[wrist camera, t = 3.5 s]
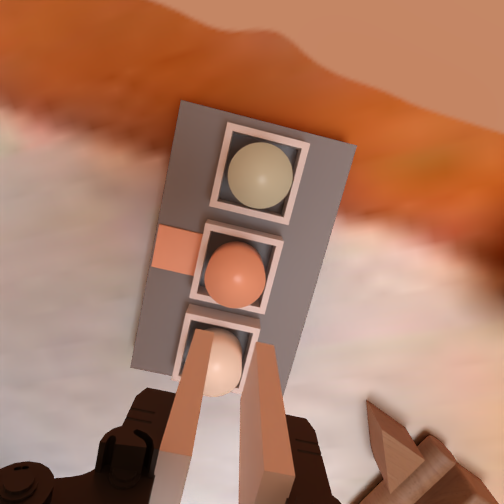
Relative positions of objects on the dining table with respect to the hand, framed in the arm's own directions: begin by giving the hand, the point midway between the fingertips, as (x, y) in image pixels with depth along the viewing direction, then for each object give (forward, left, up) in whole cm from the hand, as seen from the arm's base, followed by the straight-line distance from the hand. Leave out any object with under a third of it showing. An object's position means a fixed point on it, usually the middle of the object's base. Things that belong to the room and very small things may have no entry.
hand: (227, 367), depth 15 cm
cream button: (0, -8, -15) cm, 17 cm away
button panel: (0, 0, -19) cm, 19 cm away
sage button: (0, +8, -15) cm, 17 cm away
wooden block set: (+21, -22, -20) cm, 37 cm away
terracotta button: (0, 0, -15) cm, 15 cm away
